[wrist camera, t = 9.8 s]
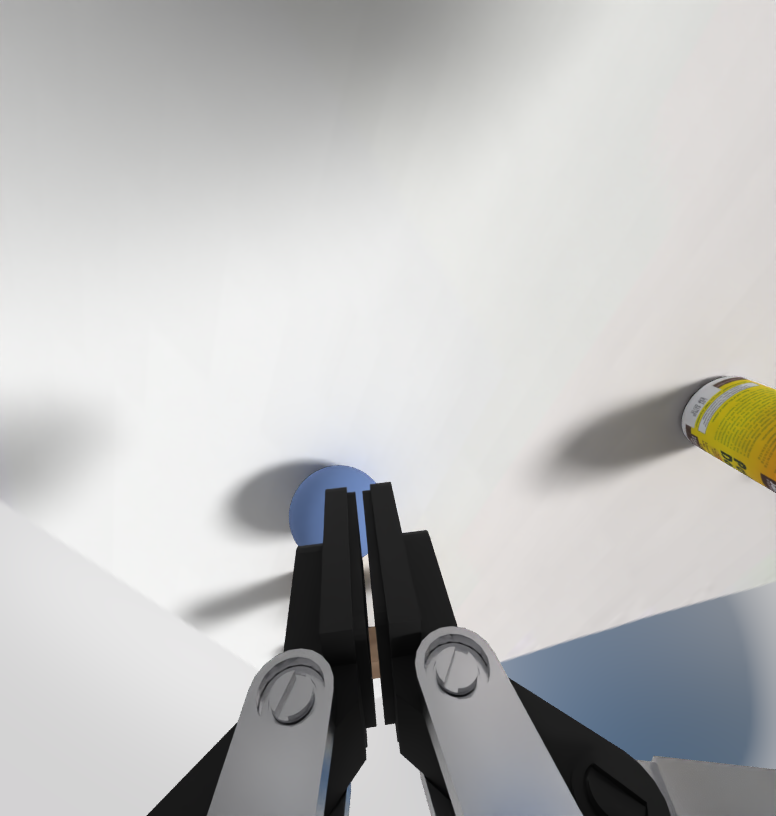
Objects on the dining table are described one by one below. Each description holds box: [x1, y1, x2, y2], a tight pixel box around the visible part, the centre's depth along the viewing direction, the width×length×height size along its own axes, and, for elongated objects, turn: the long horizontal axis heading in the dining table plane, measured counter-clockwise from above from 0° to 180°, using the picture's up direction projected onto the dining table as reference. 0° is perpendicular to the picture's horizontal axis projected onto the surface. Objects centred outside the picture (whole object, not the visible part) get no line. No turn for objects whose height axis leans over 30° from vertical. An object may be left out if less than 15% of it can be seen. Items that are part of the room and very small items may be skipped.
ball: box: [289, 465, 376, 557], centre depth 25 cm, size 6×6×6 cm
